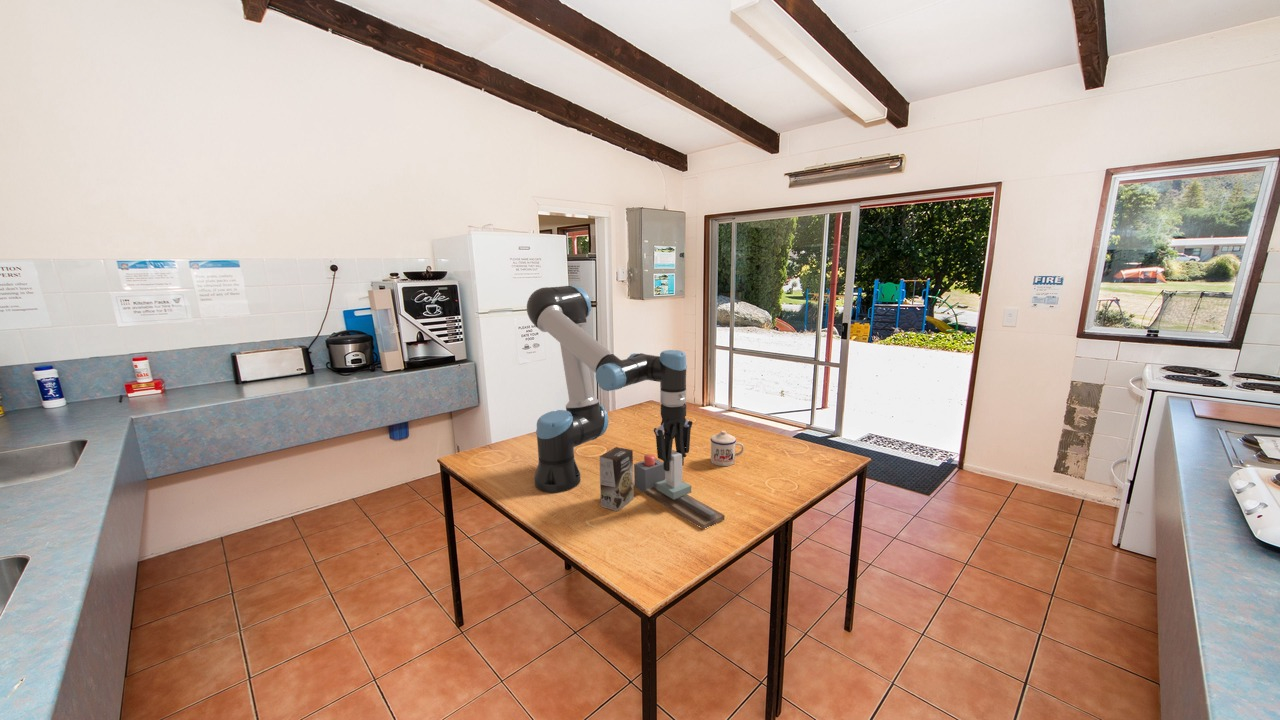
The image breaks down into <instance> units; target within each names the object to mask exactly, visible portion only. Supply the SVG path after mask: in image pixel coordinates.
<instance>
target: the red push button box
mask: <svg viewBox="0 0 1280 720" xmlns="http://www.w3.org/2000/svg"><path fill="white" fill-rule="evenodd" d="M663 480H666V479H665V470H664V465H663V461H662V460H660V459H658V458H655V465H654V466H652V467H649V468H648V467H647V466H645V465H644V460H643V461H639V462H637V463H633V484H634V488H635V489H637V490H639V491H641V492H642V493H644V494H645V495H647V494H646V489H649V488H651V487H654V483H655V482H658V481H663Z"/></svg>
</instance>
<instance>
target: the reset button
mask: <svg viewBox="0 0 1280 720" xmlns="http://www.w3.org/2000/svg"><path fill="white" fill-rule="evenodd" d="M643 457H644V458H643V461H644V465H645V466H647V467H648V468H649V467H652V466H654V465H655V459H656V455H654V454H650V453H649V454H645V455H643Z"/></svg>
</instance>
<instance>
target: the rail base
mask: <svg viewBox="0 0 1280 720" xmlns="http://www.w3.org/2000/svg"><path fill="white" fill-rule="evenodd" d="M658 482H660V481H658ZM658 482H655V483H654V487H651V488H649V489H646V494H645V495H647V496H648V497H650V498H651V499H653V500H655V501H656V502H658V503H660V504H662V505H663V506H665V507H666V508H668V510H669V509H670V510H671V511H673V512H674V513H676V514H677V515H679V516H681V517H682V518H684V519H685V518H686V520H687V521H689V522H690V521H691V522H690V523H692V524H693V525H695V524H696V525H695V526H697V525H698V526H700V527H702V528H703V529H705V528H707V527H709V526H711V527H713V526H715V525H717V524H719V523H721V522H720V521H722V520H724V521H725V514H723V513H721V512H720V511H718V510H716V509H714V508H712V507H711V506H709V505H707V504H705V503H704V502H701V501H700V500H698V499H696V498H694V497H692V496H691V495H689V494H686V495H684V496H681V497H679V498H676V499H672V498H670V497H668V496H667V495H665V494H663V493H662V492H660V491H658V490H657V483H658ZM718 522H719V523H718ZM722 522H723V521H722ZM716 523H717V524H716ZM714 524H715V525H714ZM712 525H713V526H712ZM698 526H697V527H698ZM700 527H699V528H700ZM702 528H701V529H702ZM709 528H710V527H709ZM703 529H702V530H703ZM707 529H708V528H707ZM705 530H706V529H705Z"/></svg>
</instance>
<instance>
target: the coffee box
mask: <svg viewBox="0 0 1280 720" xmlns="http://www.w3.org/2000/svg"><path fill="white" fill-rule="evenodd" d="M633 454H634V452H633V449H628V448H623V447H618V446H616V447H614V448H612V449H611V450H608V451H606V452H605V453H603V454H602V455H599V480H600V481H599V484H600V489H599V490H600V506H601V507H602V508H606V509H609V510H611V511H615V512H618V511H620V510H621V509H622V508H624V507H625V506H626V505H628V504H629V503H630V502H632V501H633V500H634V460H633V459H634V458H633V457H634V455H633Z"/></svg>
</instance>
